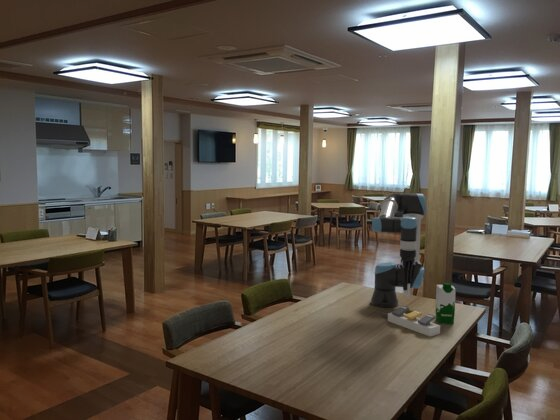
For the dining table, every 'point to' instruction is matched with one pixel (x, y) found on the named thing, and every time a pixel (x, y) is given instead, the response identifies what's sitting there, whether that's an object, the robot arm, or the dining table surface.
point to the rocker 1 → (400, 310)
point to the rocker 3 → (426, 319)
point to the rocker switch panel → (414, 324)
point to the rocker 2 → (413, 315)
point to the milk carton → (445, 303)
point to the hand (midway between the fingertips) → (406, 296)
